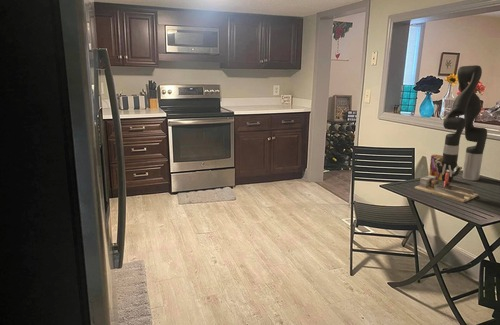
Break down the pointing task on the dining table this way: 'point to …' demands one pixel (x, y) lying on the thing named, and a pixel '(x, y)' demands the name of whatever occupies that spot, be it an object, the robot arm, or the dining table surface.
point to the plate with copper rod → (446, 182)
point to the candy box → (435, 166)
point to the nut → (433, 183)
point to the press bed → (446, 190)
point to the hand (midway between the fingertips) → (446, 181)
